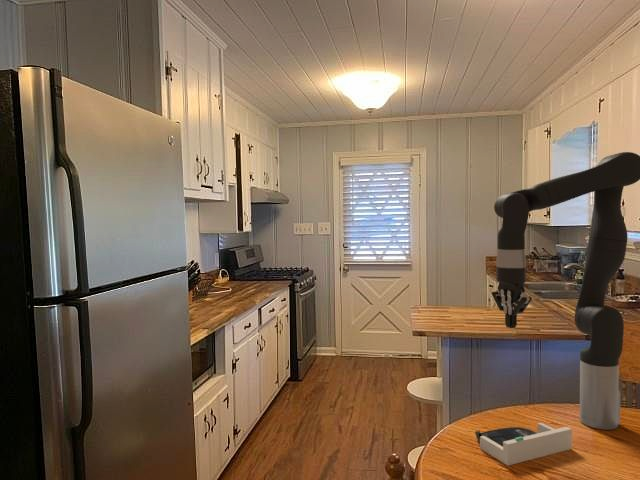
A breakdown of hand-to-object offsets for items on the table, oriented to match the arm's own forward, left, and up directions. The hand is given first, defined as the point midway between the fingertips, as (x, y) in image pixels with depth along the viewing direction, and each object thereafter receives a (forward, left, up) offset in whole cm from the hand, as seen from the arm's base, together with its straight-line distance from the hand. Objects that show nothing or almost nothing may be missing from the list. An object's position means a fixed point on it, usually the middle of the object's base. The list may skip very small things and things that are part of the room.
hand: (510, 327), depth 132 cm
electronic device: (+9, +10, -28) cm, 31 cm away
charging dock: (+8, +13, -27) cm, 31 cm away
